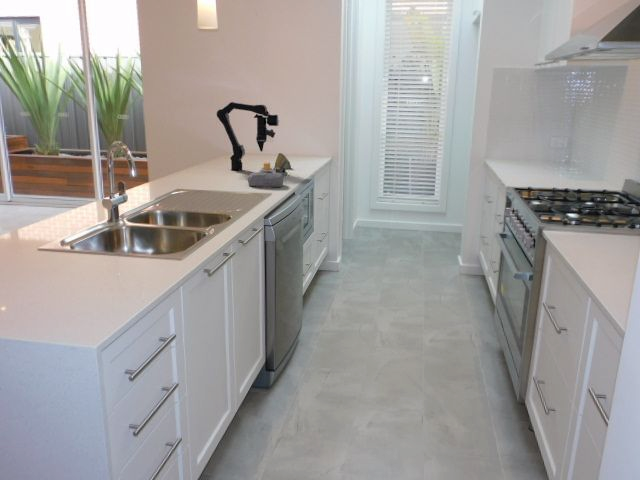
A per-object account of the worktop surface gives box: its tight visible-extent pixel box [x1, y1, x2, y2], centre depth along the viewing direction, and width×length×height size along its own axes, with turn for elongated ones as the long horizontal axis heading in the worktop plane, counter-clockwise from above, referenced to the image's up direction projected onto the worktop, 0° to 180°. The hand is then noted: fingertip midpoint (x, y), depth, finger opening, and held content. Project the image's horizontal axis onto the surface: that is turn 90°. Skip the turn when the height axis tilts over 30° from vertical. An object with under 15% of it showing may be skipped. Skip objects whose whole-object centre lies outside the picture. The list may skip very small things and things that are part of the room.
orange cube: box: [263, 162, 271, 170], centre depth 342 cm, size 4×4×5 cm
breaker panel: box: [259, 167, 287, 177], centre depth 347 cm, size 16×17×4 cm
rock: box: [273, 152, 292, 170], centre depth 368 cm, size 11×9×10 cm
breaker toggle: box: [279, 159, 289, 171], centre depth 341 cm, size 2×3×8 cm
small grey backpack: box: [246, 171, 284, 189], centre depth 306 cm, size 15×8×20 cm
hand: (261, 150), depth 352 cm, fingers open, 9 cm apart
